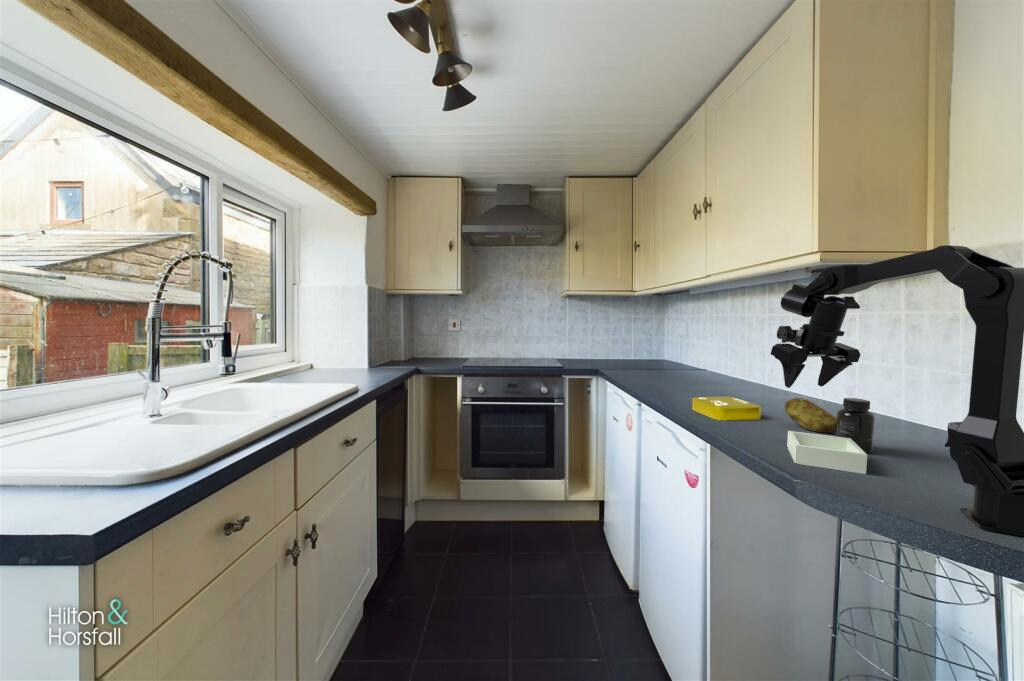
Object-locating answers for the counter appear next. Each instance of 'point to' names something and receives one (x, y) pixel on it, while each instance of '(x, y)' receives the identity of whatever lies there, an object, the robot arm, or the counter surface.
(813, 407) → the potato
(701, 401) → the element tile
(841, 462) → the sage tray
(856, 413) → the supplement bottle
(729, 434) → the counter surface
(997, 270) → the robot arm
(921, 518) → the counter surface
